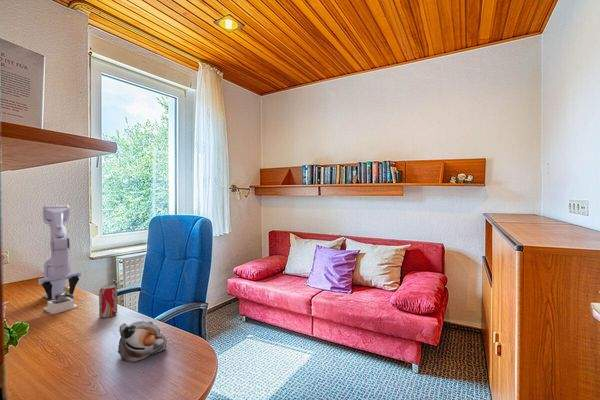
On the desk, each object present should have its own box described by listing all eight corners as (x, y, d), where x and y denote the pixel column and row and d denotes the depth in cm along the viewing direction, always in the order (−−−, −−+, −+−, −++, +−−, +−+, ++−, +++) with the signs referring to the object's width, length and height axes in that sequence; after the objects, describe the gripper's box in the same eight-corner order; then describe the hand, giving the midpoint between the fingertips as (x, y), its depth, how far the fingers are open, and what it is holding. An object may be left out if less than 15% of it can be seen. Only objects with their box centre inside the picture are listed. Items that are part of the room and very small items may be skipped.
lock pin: (61, 296, 138) (61, 287, 138) (70, 294, 141) (70, 285, 141) (64, 298, 136) (64, 289, 136) (73, 296, 139) (73, 287, 139)
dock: (41, 308, 132) (41, 300, 132) (70, 300, 141) (70, 293, 141) (51, 314, 125) (51, 306, 125) (81, 306, 134) (81, 298, 134)
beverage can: (111, 318, 121) (110, 289, 121) (95, 318, 121) (95, 288, 121) (120, 312, 127) (120, 284, 127) (105, 312, 127) (105, 284, 127)
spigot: (53, 307, 131) (52, 294, 131) (64, 304, 134) (63, 292, 134) (57, 309, 129) (56, 296, 128) (68, 306, 132) (67, 293, 132)
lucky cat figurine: (174, 342, 102) (177, 314, 96) (153, 376, 91) (155, 346, 85) (133, 329, 102) (133, 299, 96) (106, 360, 91) (105, 329, 85)
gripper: (42, 270, 123) (43, 303, 123) (83, 263, 135) (84, 293, 135) (36, 267, 127) (37, 300, 127) (77, 261, 139) (77, 290, 139)
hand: (60, 296), depth 131 cm, fingers open, 7 cm apart
